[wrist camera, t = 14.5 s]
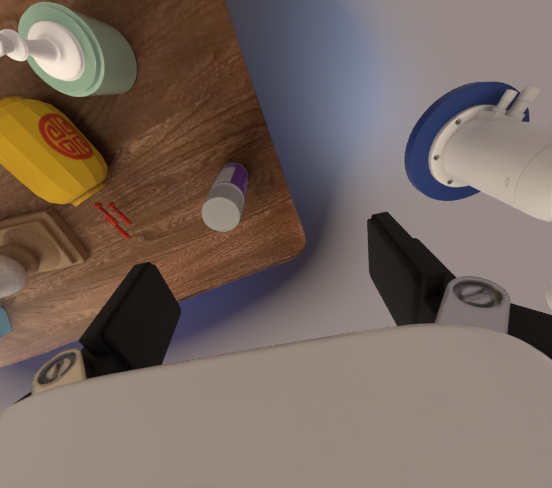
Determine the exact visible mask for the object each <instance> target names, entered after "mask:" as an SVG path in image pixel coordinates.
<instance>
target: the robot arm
mask: <svg viewBox="0 0 552 488" xmlns="http://www.w3.org/2000/svg"><path fill="white" fill-rule="evenodd" d="M540 90H541V89H540V88H538V87H535V86H528V85H527V86H525V87H524V89H523V90H522V92H521V93H520V94H519V96H518V97H517V99H516V101H515V103H514V104H513V106H512V107H511V108H510V110H505V109H506V108H507V107H508V105H509V104H510V102H512V100H513V99H514V97H515V96H516V94H517V93H518V92H517V91H514V90H509V89H508V90H506V92H505V93H504V95H503V96H502V98H501V99H500V102H499V103H498V105H497V106H494V105H484V104H483V105H476V106H473V107H470V108H467V109H465V110H463V111H461V112H459V113H458V114H456V115H455V116H454V117H452V118H451V119H450V120H449V121H448V122H447V123H446V124H445V125H444V126H443V127H442V128H441V129H440V131H439V132H438V133H437V135H436V137H435V139H434V140H433V143H432V145H431V148H430V152H429V158H428V164H429V169H430V172H431V174H432V175H433V177H434V178H435V179H436V180H437V181H439V182H440V183H442V184H444V185H446V186H450V187H464V186H468V185H469V186H471V187H473V188H475V189H477V190H479V191H481V192H484V193H486V194H488V195H490V196H492V197H494V198H496V199H498V200H500V201H502V202H504V203H506V204H508V205H510V206H512V207H514V208H516V209H518V210H520V211H523V212H524V213H526V214H529V215H531V216H533V217H535V218H538V219H541V220H545V221H549V222H552V126H551V125H544V124H537V123H529V122H522V119H523V118H524V116H525V114H523V113H524V111H525V110H526V109H527V107H528V105H529V104H531V103H532V102H533V100H534V99H535V98H536V96H537V95H538V94H539V92H540ZM367 228H368V255H369V273H370V276H371V278H372V280H373V282H374V284H375V286H376V288H377V290H378V291H379V293H380V295H381V297H382V299H383V301H384V302H385V304H386V306H387V308H388V310H389V312H390V313H391V315H392V317H393V319H394V321H395V322H396V324H397V326H395V327H387V328H379V329H373V330H366V331H360V332H353V333H347V334H340V335H335V336H329V337H322V338H316V339H311V340H304V341H299V342H292V343H286V344H280V345H274V346H269V347H262V348H256V349H250V350H244V351H239V352H233V353H227V354H221V355H215V356H210V357H204V358H198V359H192V360H187V361H181V362H176V363H170V364H164V365H162V362H163V359H164V357H165V354H166V352H167V349H168V346H169V344H170V341H171V339H172V336H173V333H174V331H175V328H176V325H177V323H178V320H179V317H180V314H181V308H180V306H179V304H178V302H177V301H176V299H175V297H174V295H173V294H172V292H171V290H170V289H169V287H168V285H167V284H166V282H165V280H164V279H163V277H162V275H161V274H160V272H159V270H158V268H157V267H156V266H155V265H154V264H151V263H150V262H146V263H141V264H137V265H134V266H133V268H132V269H131V270H130V272H129V273H128V274H127V276H126V277H125V279H124V280H123V281H122V283H121V284H120V285H119V287H118V288H117V289H116V291H115V292H114V293H113V295H112V296H111V297H110V299H109V300H108V301H107V303H106V304H105V306H104V307H103V308H102V310H101V311H100V312H99V314H98V315H97V316H96V318H95V319H94V320H93V322H92V323H91V324H90V326H89V327H88V329H87V330H86V331H85V333H84V334H83V335H82V337H81V338H80V339H79V342H80V343H81V344H82V345H83V346H84V347H83V349H82V350H81V351H80V350H79V349H77V348H71V349H68V350H65V351H63V352H61V353H59V354H57V355H55V356H54V357H52V358H51V359H50V360H49V361H47V362H46V363H45V364H44V365H43V366H42V367H41V368H40V369H39V370H38V371H37V373H36V374H35V376H34V378H33V381H32V387H31V392H30V393H28V394H27V395H25V396H24V397H23V398H21V399H20V400H18V401H17V402H16V403H14V404H13V405H11V406H9V407H8V408H6V409H4V410H2V411H1V412H0V488H552V315H549V314H546V313H543V312H539V311H536V310H532V309H529V308H525V307H522V306H518V305H515V304H511V303H510V297H509V294H508V293H507V292H506V291H505V289H503V288H502V287H501V286H499V285H498V284H496V283H494V282H492V281H490V280H487V279H484V278H480V277H473V276H468V277H467V276H464V277H459V278H456V277H455V276H454V275H453V274H452V273H451V272H450V271H449V270H448V269H447V268H446V267H445V266H444V265H443V264H442V263H441V262H440V261H439V260H438V259H437V258H436V257H435V256H434V255H433V254H432V253H431V252H430V251H429V250H428V249H427V248H426V247H425V246H424V245H423V244H422V243H421V242H420V240H418V239H416V238H412V237H411V236H410V235H409V234H408V233H407V232H406V231H405V230H404V229H403V228H402V227H401V226H400V224H399V223H398V222H396V220H395V219H393V217H392V216H391V215H390V214H389V213H388V212H383V213H378V214H373V215H372V218H371V219H368V220H367ZM546 301H547V303H548V305H549V307H550V308H551V309H552V279H551V281H550V282H549V284H548V287H547V289H546Z"/></svg>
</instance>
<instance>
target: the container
mask: <svg viewBox="0 0 552 488" xmlns="http://www.w3.org/2000/svg"><path fill="white" fill-rule="evenodd" d="M248 178H249V177H248V172H247V170H246V169H245V167H244V166H242V165H241V164H239V163H234V162H233V163H228V164H226V165H225V166H224V167H223V168H222V170H221V172H220V173H219V175H218V177H217V179H216V181H215V183H214V184H213V186H212V188H211V190H210V192H209V194H208V196H207V199H206V201H205V203H204V205H203V208H202V218H203V220H204V222H205V223H206V224H207V226H209V227H210V228H211V229H213V230H216V231H221V232H225V231H229V230H232V229H233V228H235V227H236V226H237V224H238V222H239V220H240V216H241V212H242V208H243V205H244V200H245V195H246V190H247V184H248Z"/></svg>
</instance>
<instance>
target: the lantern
mask: <svg viewBox="0 0 552 488" xmlns="http://www.w3.org/2000/svg"><path fill="white" fill-rule="evenodd" d="M0 164H1V165H2V166H4V167H5V168H6V169H7V170H8V171H9V172H10V173H12V174H13V175H14V176H15V177H16V178H17V179H18V180H20V181H21V182H22V183H23V184H24V185H25V186H26V187H27V188H29V189H30V190H31V191H32V192H33V193H34V194H35V195H37V196H39V197H41V198H43V199H45V200H46V201H48V202H50V203H58V204H65V203H71V204H73V205H74V206H77V205H79V204H81V203H82V202H84V201H85V200H87V199H89V198H90V197H91V196H93V195H94V194H96V193H97V192H98V193H99V194H100V195H101V196H102V197H103V198H104V199H105V197H104V196H103V195H102V194H101V193H100V192H99V191H100V190H102V189H103V188H105V187H106V186H108V185H107V184H106V182H105V178H106V176H107V165H106V163H105V161H104V159H103V157H102V155H101V154H100V153H99V152H98V151H97V150H96V148H95V147H94V146H93V145H92V144H91V143H90V142H89V141H88V140H87V138H86V137H85V136H84V135H83V134H82V133H81V132H80V131H79V130H78V129H77V127H76V126H75V125H74V124H73V123H72V122H71V121H70V120H69V119H68V118H67V116H66V115H65V114H63V113H62V112H60V111H59V110H58V109H56V108H55V107H54V106H52V105H51V104H48V103H44V102H41V101H38V100H33V99H26V98H25V97H23V96H22V95H18V94H13V95H6V96H3V97H0ZM90 199H91V198H90ZM90 199H89V200H90ZM91 200H92V199H91ZM91 200H90V201H91ZM105 200H106V199H105ZM92 201H93V200H92ZM92 201H91V202H92ZM106 201H107V200H106ZM93 202H94V201H93ZM93 202H92V203H93ZM107 202H108V201H107ZM94 203H95V202H94ZM94 203H93V204H94ZM108 203H109V202H108ZM108 207H110V208H113V209H114V211H115V212H116V213H117V214H118V215H119V216H120V217H121V218H122V219H123V221H124V222H125V223H126V224H127V225H130V224H131V223H132V222H131V221H130V220H129V219H128V218H127V217H126V216H125V215H124V214H122V213H121V212H120V211H119V210H118V209H117V208H116V207H115V204H114V203H113V202H110V203H109V204H108ZM94 208H98V209H99V210H100V211H101V212H102V213H103V214H104V215H105V216H106V217H107V218H106V221H107V222H111V223H112V225H113V226H114V227H115V228H116V229H117V230H118V231H119V232H120V233H121V234H122V235H123V236H124V237H125V239H126V240H127V239H129V238H130V237H131V236H130V235H129V234H127V233H126V232H125V231H124V230H123V229H122V228H121V227H120V226H118V225H117V224H118V223H119V222H118V221H117V220H116V219H115V218H113V217H112V216H111V215H110V214H109V213H108V212H107V211H105V210H104V209H103V208H102V207H101V203H98V202H97V203H95V204H94Z"/></svg>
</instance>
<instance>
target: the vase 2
mask: <svg viewBox="0 0 552 488" xmlns="http://www.w3.org/2000/svg"><path fill="white" fill-rule="evenodd" d="M10 331H12V328H11V325H10V322H9V319H8V316H7V313H6V311H5V309H3V308H2V307H0V338H1V337H2V336H4V335H5V334H7V333H9V332H10Z"/></svg>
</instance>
